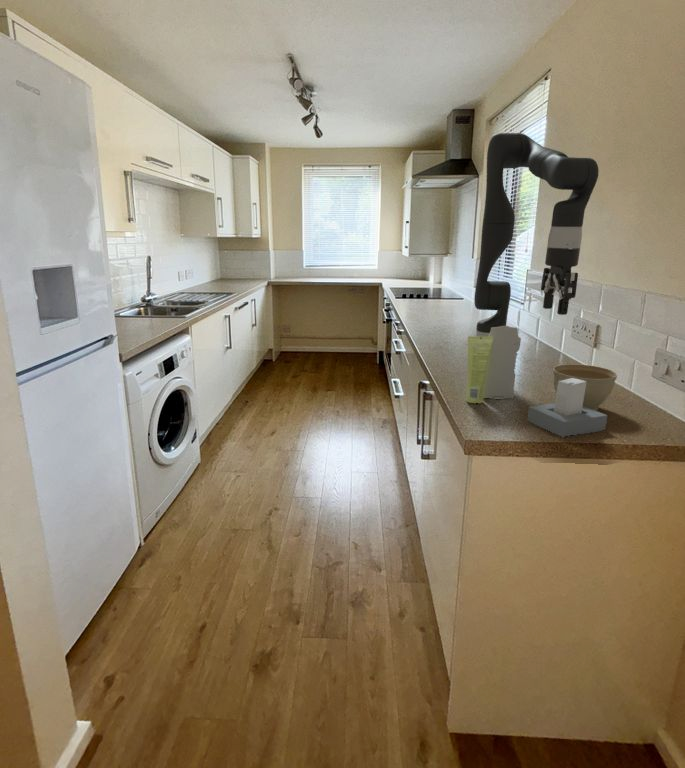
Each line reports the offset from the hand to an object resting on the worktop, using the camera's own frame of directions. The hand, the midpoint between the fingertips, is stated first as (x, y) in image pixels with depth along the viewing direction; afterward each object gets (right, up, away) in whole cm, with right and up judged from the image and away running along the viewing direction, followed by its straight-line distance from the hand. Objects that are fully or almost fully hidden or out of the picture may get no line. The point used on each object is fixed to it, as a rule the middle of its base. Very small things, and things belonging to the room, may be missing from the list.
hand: (554, 311), depth 126 cm
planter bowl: (+13, -26, +14) cm, 32 cm away
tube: (-15, -24, +19) cm, 34 cm away
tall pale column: (-8, -23, +22) cm, 33 cm away
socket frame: (+3, -29, 0) cm, 30 cm away
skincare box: (+3, -30, 0) cm, 30 cm away
